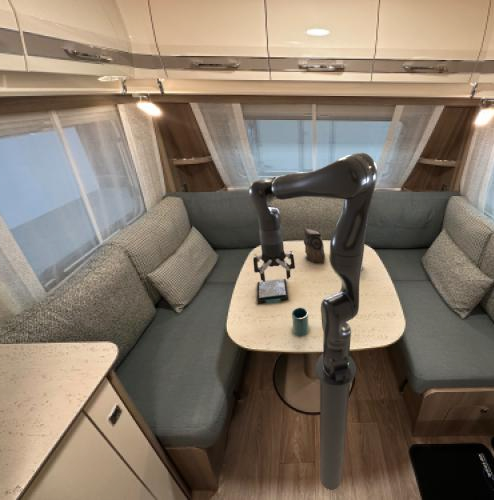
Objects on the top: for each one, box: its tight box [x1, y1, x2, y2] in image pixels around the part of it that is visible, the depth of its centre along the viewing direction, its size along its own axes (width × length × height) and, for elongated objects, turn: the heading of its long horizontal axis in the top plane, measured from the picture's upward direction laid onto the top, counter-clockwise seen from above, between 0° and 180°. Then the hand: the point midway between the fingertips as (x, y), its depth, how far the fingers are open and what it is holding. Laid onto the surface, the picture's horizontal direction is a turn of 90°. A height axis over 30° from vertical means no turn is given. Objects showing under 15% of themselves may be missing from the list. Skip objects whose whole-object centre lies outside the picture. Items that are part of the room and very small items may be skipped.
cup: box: [291, 307, 310, 337], centre depth 114 cm, size 7×7×10 cm
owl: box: [303, 227, 326, 264], centre depth 161 cm, size 13×13×20 cm
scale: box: [256, 278, 289, 305], centre depth 137 cm, size 16×15×3 cm
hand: (276, 279), depth 97 cm, fingers open, 8 cm apart
